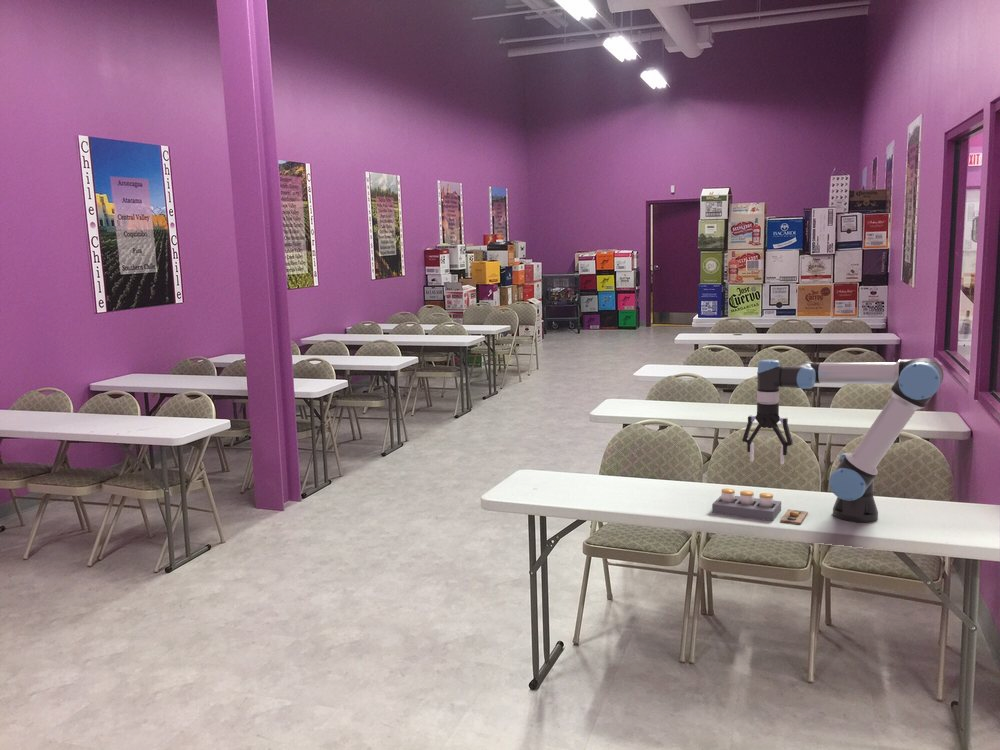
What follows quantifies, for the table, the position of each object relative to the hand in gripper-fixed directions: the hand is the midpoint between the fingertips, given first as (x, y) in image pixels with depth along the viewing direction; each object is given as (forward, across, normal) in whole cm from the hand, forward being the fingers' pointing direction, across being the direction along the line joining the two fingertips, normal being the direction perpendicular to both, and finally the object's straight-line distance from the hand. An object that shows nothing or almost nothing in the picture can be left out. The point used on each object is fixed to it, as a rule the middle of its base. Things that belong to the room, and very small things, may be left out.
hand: (766, 462), depth 298 cm
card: (+20, -10, 0) cm, 22 cm away
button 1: (+17, +14, 0) cm, 22 cm away
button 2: (+17, 0, 0) cm, 17 cm away
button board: (+20, +7, 0) cm, 21 cm away
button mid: (+17, +7, 0) cm, 18 cm away
